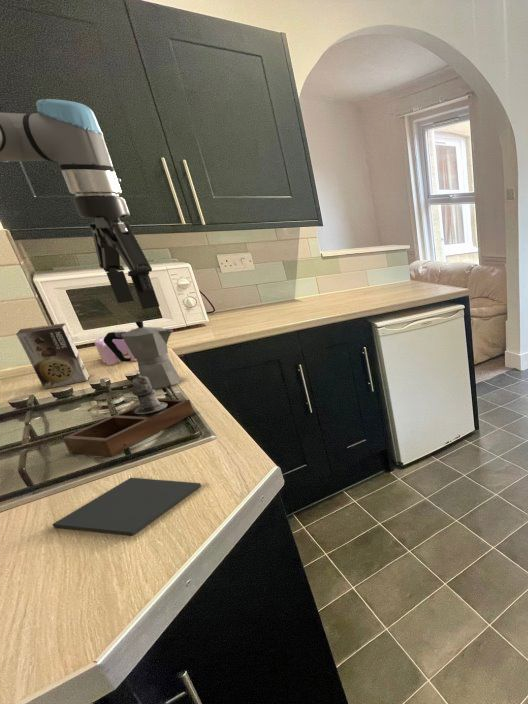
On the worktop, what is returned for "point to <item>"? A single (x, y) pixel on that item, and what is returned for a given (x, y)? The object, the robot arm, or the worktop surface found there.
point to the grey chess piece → (146, 398)
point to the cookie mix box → (53, 355)
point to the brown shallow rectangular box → (125, 429)
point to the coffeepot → (147, 353)
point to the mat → (128, 506)
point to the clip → (107, 354)
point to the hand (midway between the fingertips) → (138, 304)
